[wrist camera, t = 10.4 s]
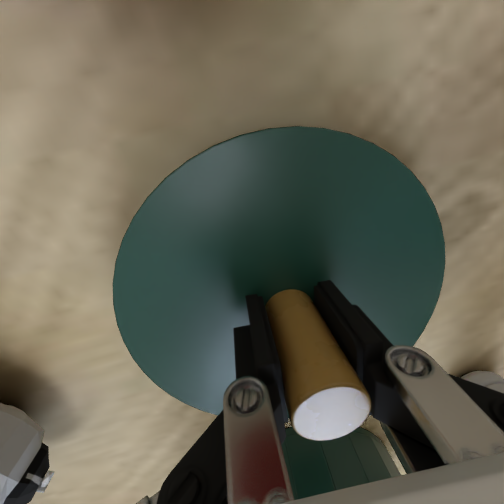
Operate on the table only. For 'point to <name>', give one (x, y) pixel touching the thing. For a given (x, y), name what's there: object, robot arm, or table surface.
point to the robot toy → (21, 457)
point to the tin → (335, 462)
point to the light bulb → (486, 380)
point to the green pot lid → (277, 266)
